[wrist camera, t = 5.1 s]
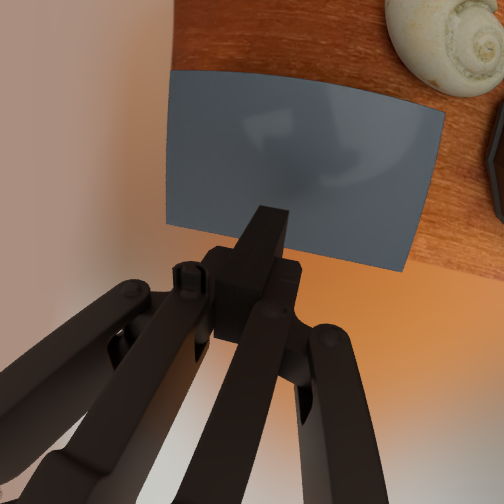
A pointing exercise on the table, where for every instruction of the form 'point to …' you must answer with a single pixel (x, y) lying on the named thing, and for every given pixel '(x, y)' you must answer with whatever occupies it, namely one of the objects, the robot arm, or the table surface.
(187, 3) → the table surface
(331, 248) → the lid
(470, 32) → the seashell
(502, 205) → the octagonal dark pot
